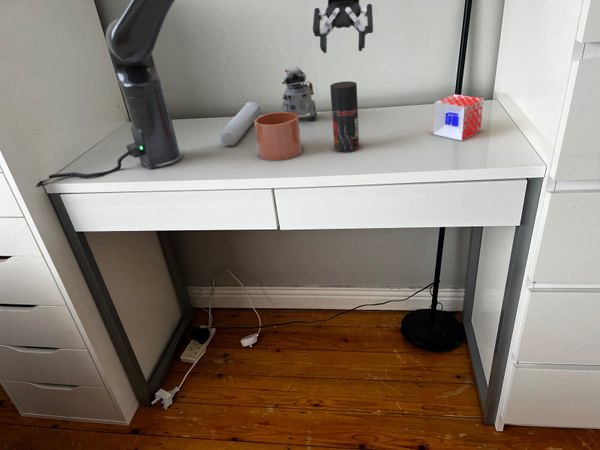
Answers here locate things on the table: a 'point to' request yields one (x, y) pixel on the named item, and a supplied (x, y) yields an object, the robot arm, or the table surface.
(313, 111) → the figurine
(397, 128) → the table surface
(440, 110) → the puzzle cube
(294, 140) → the cup
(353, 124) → the deodorant
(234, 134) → the tube
